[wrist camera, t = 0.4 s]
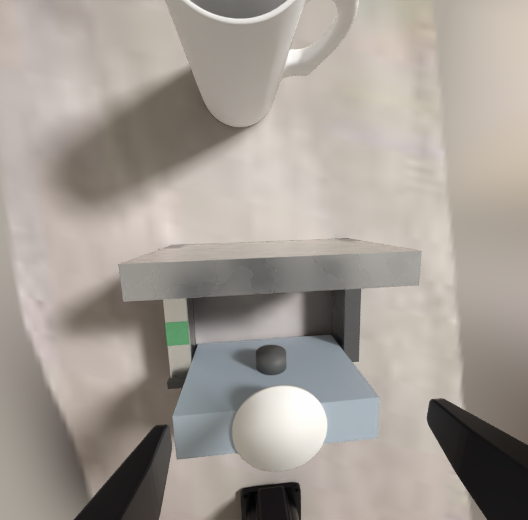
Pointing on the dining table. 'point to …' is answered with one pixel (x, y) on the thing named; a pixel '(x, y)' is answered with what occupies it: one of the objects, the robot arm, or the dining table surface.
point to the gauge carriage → (271, 401)
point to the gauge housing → (264, 281)
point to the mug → (249, 50)
